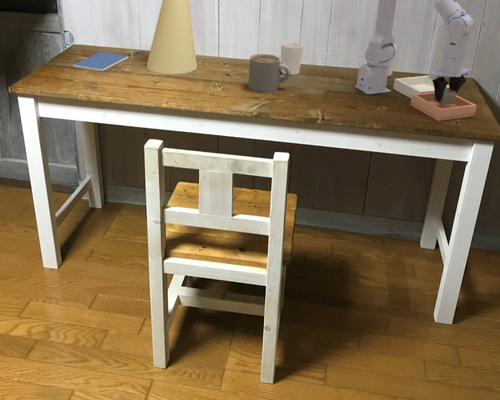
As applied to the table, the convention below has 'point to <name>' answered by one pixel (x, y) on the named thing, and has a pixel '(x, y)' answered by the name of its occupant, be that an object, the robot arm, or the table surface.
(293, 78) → the table surface
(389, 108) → the table surface
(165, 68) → the cone light
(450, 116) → the bin
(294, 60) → the white cup
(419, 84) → the tub
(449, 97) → the gray cube
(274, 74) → the coffee mug
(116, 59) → the blue notebook
